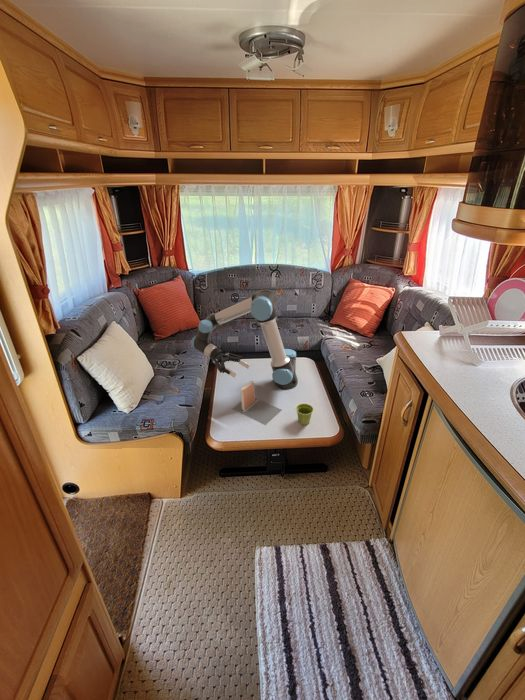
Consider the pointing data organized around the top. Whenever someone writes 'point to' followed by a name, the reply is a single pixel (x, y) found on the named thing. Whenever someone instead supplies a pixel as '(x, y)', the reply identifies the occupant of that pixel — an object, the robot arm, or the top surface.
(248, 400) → the tile
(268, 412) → the board
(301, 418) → the plant pot
